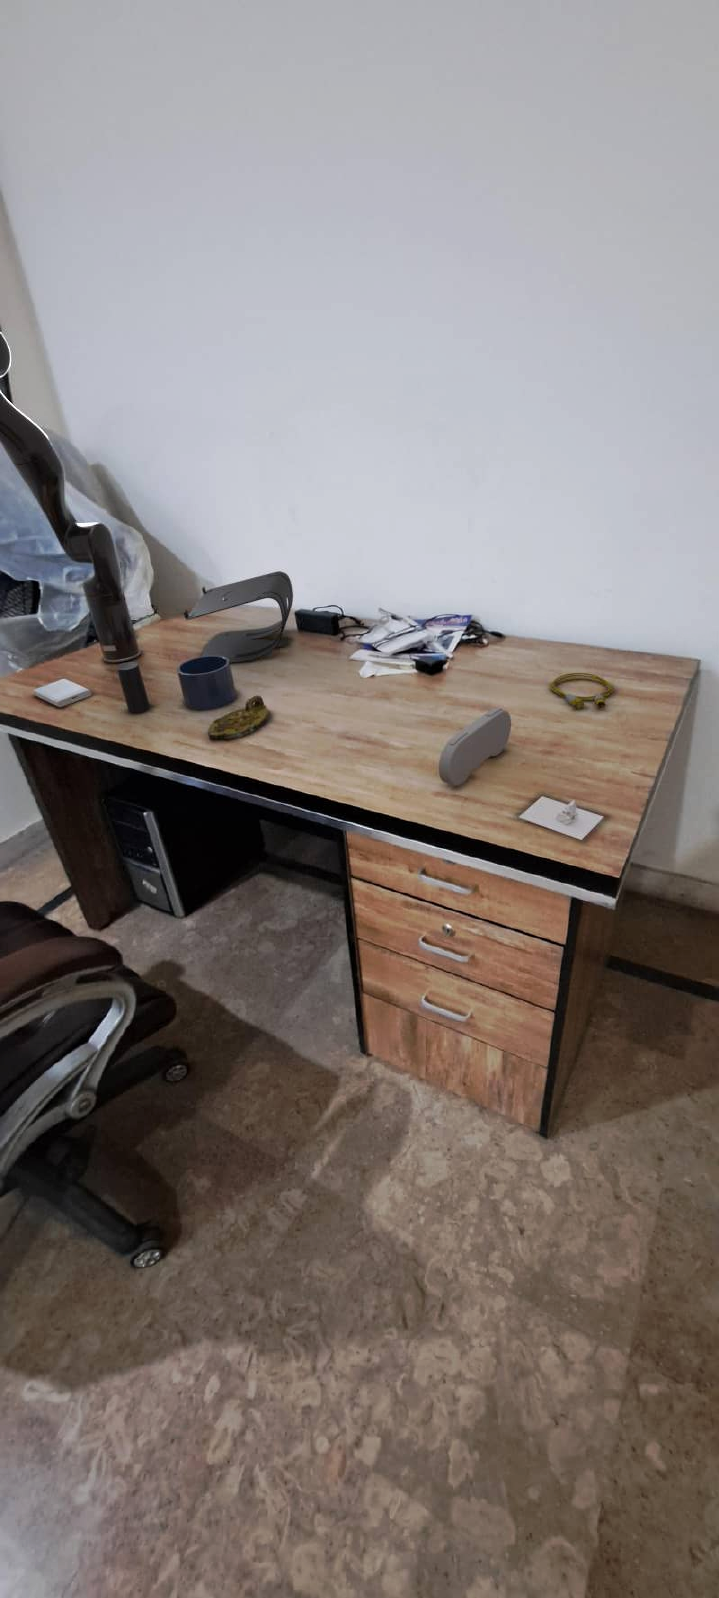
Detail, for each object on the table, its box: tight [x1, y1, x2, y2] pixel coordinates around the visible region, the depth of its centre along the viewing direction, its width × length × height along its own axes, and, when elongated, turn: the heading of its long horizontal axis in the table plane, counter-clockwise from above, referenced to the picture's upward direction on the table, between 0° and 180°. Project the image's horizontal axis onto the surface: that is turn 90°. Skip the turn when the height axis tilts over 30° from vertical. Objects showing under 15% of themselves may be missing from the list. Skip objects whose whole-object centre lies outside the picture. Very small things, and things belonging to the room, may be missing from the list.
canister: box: [115, 661, 151, 715], centre depth 144 cm, size 5×5×10 cm
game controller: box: [438, 707, 512, 787], centre depth 112 cm, size 20×2×8 cm, turn 140°
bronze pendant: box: [207, 694, 269, 740], centre depth 134 cm, size 9×5×15 cm
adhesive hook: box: [554, 799, 579, 825], centre depth 98 cm, size 3×3×3 cm
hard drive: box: [32, 678, 92, 708], centre depth 157 cm, size 2×8×12 cm
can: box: [176, 655, 237, 711], centre depth 146 cm, size 11×11×8 cm
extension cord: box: [550, 672, 613, 710], centre depth 134 cm, size 12×16×2 cm
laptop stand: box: [183, 570, 294, 664], centre depth 172 cm, size 26×24×16 cm
